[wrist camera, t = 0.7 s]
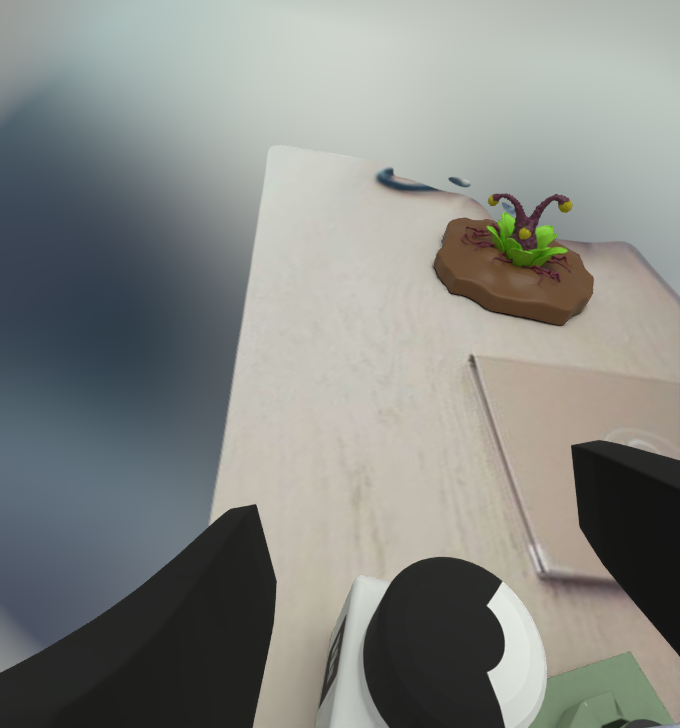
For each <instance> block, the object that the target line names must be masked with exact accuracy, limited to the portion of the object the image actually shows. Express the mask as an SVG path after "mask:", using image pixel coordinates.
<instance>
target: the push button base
mask: <svg viewBox="0 0 680 728" xmlns="http://www.w3.org/2000/svg"><path fill="white" fill-rule="evenodd" d="M636 719H648V720H652V721H655V722H657V723H660V724H662V725H668V724H674V721H673V719H672V718H671V716H670V715H669V713H668V711H667V710H666V708H665V707H664V705H663V703H662V702H661V700H660V698H659V697H658V695H657V694H656V692H655V690H654V689H653V687H652V686H651V684H650V682H649V681H648V679H647V678H646V676H645V674H644V673H643V671H642V670H641V668H640V666H639V665H638V663H637V662H636V660H635V658H634V657H633V655H632V653H631V652H626V653H623V654H620V655H617V656H614V657H611V658H608V659H605V660H602V661H599V662H596V663H593V664H590V665H587V666H584V667H581V668H578V669H575V670H572V671H569V672H566V673H563V674H560V675H557V676H554V677H551V678H548V679H547V685H546V690H545V696H544V699H543V702H542V705H541V708H540V710H539V712H538V714H537V716H536V717H535V719H534V721H533V722H532V723H531V724H530V725H529V727H528V728H617V727H620V726H622V725H624V724H626V723H628V722H631V721H633V720H636Z"/></svg>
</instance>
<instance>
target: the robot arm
mask: <svg viewBox="0 0 680 728" xmlns="http://www.w3.org/2000/svg"><path fill="white" fill-rule="evenodd" d="M571 449H572V459H573V469H574V478H575V488H576V497H577V507H578V516H579V526H580V528H581V530H582V532H583V533H584V535H585V537H586V538H587V540H588V542H589V543H590V545H591V547H592V548H593V550H594V551H595V553H596V554H597V556H598V557H599V559H600V560H601V562H602V564H603V565H604V566H605V567H606V569H607V570H608V571H609V572H610V574H611V575H612V576H613V577H614V579H615V580H616V581H617V582H618V583H619V585H620V586H621V587H622V588H623V589H624V591H625V592H626V593H627V594H628V595H629V597H630V598H631V599H632V600H633V601H634V603H635V604H636V605H637V606H638V607H639V609H640V610H641V611H642V612H643V613H644V614H645V616H646V617H647V618H648V619H649V620H650V622H651V623H652V624H653V625H654V626H655V628H656V629H657V630H658V631H659V632H660V633H661V635H662V636H663V637H664V638H665V639H666V641H667V642H668V643H669V644H670V645H671V647H672V648H673V649H674V650H675V651H676V652H677V654H678V655H679V656H680V460H676V459H672V458H669V457H665V456H662V455H658V454H655V453H651V452H647V451H644V450H640V449H637V448H633V447H629V446H625V445H621V444H617V443H613V442H608V441H601V440H597V441H592V442H586V443H581V444H576V445H571ZM276 583H277V581H276V577H275V573H274V570H273V566H272V562H271V558H270V554H269V551H268V547H267V543H266V539H265V536H264V532H263V528H262V524H261V520H260V517H259V513H258V509H257V505H256V504H254V505H249V506H244V507H238V508H233V509H230V510H228V511H227V512H225V513H224V514H223V515H222V516H220V517H219V518H218V519H217V520H216V521H215V522H214V523H212V524H211V525H210V526H209V527H208V528H207V529H206V530H205V531H204V532H203V533H202V534H200V535H199V536H198V537H197V538H196V539H195V540H194V541H193V542H192V543H191V544H189V545H188V546H187V547H186V548H185V549H184V550H183V551H182V552H181V553H180V554H178V555H177V556H176V557H175V558H174V559H173V560H171V561H170V562H169V563H168V564H167V565H165V566H164V567H163V568H162V569H161V570H160V571H158V572H157V573H156V574H155V575H154V576H152V577H151V578H150V579H149V580H148V581H147V582H145V583H144V584H143V585H141V586H140V587H139V588H138V589H136V590H135V591H134V592H132V593H131V594H130V595H128V596H127V597H126V598H124V599H123V600H121V601H120V602H119V603H117V604H116V605H114V606H113V607H111V608H110V609H109V610H107V611H106V612H104V613H103V614H101V615H100V616H98V617H97V618H95V619H94V620H92V621H91V622H89V623H87V624H86V625H84V626H82V627H81V628H79V629H78V630H76V631H74V632H73V633H71V634H69V635H68V636H66V637H64V638H63V639H61V640H59V641H58V642H56V643H54V644H53V645H51V646H49V647H48V648H46V649H44V650H43V651H41V652H39V653H37V654H35V655H33V656H32V657H30V658H28V659H26V660H24V661H22V662H20V663H19V664H17V665H15V666H13V667H11V668H9V669H7V670H5V671H3V672H1V673H0V728H253V723H254V718H255V713H256V708H257V703H258V698H259V694H260V689H261V684H262V679H263V674H264V670H265V665H266V660H267V655H268V650H269V645H270V640H271V635H272V630H273V624H274V614H275V601H276ZM649 728H680V723H674V724H668V725H661V726H655V727H649Z"/></svg>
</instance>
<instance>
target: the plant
mask: <svg viewBox="0 0 680 728" xmlns="http://www.w3.org/2000/svg"><path fill="white" fill-rule="evenodd" d="M502 197H504V198H507V200H509V201H511V203H512V204H513V205H514V206H515V210H514V211H516V219H514V218H513V217H512V216H511V215H509V214H508V213H507V212H505V213H503V214H502V222H501V221H500V220H498V221H497V222H495V221H493V220H489V219H485V220H471V219H468V218H458V219H454V220H452V221H450V222H449V223H448V225H447V228H446V231H445V234H444V237H443V247H442V248H441V249H440V250H439V251H438V253H437V255H436V258H435V261H434V267H435V269H436V270H437V274H438V276H439V278H440V279H441V281H442V282H443V283H444V284H445V285H446V286H447V288H448V289H449V292H450V293H453V294H459V295H463V296H466V297H469V298H471V299H473V300H475V301H476V302H478V303H479V304H480V305H482V306H483V307H484V308H485V309H488V310H491V311H494V312H500V313H506V314H510V315H515V316H520V317H526V318H530V319H535V320H539V321H543V322H547V323H551V324H556V325H564V324H565V322H567V320H568V319H569V318H570V317H572V316H573V315H576V314H579V313H580V312H581V311H582V310H583V309H584V307H585V306H586V304H587V303H588V301H589V299H590V298H591V296H592V294H593V282H594V279H593V276H592V275H591V274H590V273H589V272H588V271H587V270H586V269H585V267H584V265H583V262H582V260H581V258H580V255H579V254H577V253H575V252H573V251H572V250H570V249H568V248H566V247H565V246H563V245H561V244H559V243H558V242H556V241H554V240H555V239H556V237H557V234H553V231H554V228H553V226H541V227H539V228H536V226H537V225H538V221H539V218H540V216H541V214H542V212H543V211H544V209H545V208H546V206H548V204H550V202H551V201H553V200H555V201H558V205H559V206H558V207H559V209H560V211H561V212H564V213H565V212H568V211H570V210H571V209H572V202H571V201H570V200H569V198H566V197H565V196H563V195H557V194H555V195H554V196H551V197H549V198H547V199H546V200H545V201H543V202H541V204H540V205H538V206H537V207H536V210H534V213H533V214H532V215H531V216H530V217H529V218H528V217H527V216H526V215H525V213H524V211H523V210H524V209H522V207H523V206H521V205H520V202H518V200H516V199H515V198H514V197H513V196H511V195H510V194H493V195H492V196H490V197H489V199H488V203H489V204H490V205H491V206H495V205H496V204H497V203H498V202H499V200H500V198H502Z"/></svg>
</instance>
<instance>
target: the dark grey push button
mask: <svg viewBox="0 0 680 728" xmlns="http://www.w3.org/2000/svg"><path fill="white" fill-rule="evenodd" d="M661 725H662V724H660V723H657V722H655V721H652V720H648V719H636V720H633V721H631V722H628V723H626V724H624V725H622V726H620V727H617V728H649V727H655V726H661Z"/></svg>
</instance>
